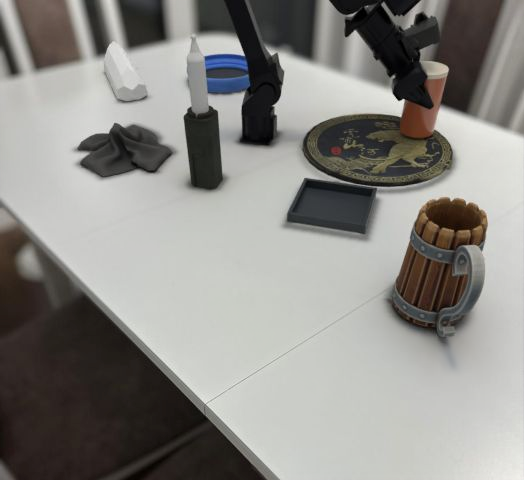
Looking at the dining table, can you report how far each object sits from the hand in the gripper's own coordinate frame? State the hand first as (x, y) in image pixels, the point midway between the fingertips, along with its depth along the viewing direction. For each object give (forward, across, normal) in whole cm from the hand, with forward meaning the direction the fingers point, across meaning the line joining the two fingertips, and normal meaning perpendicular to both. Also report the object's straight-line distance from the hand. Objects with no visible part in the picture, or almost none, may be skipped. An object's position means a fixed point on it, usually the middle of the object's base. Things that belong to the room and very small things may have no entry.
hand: (429, 99), depth 104 cm
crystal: (-43, +27, +56) cm, 76 cm away
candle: (-23, -19, +36) cm, 47 cm away
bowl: (-26, +31, +39) cm, 56 cm away
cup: (+3, 0, +5) cm, 6 cm away
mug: (+3, -54, +9) cm, 54 cm away
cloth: (-37, -8, +50) cm, 62 cm away
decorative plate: (0, -5, +13) cm, 14 cm away
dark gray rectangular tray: (-7, -28, +19) cm, 35 cm away
